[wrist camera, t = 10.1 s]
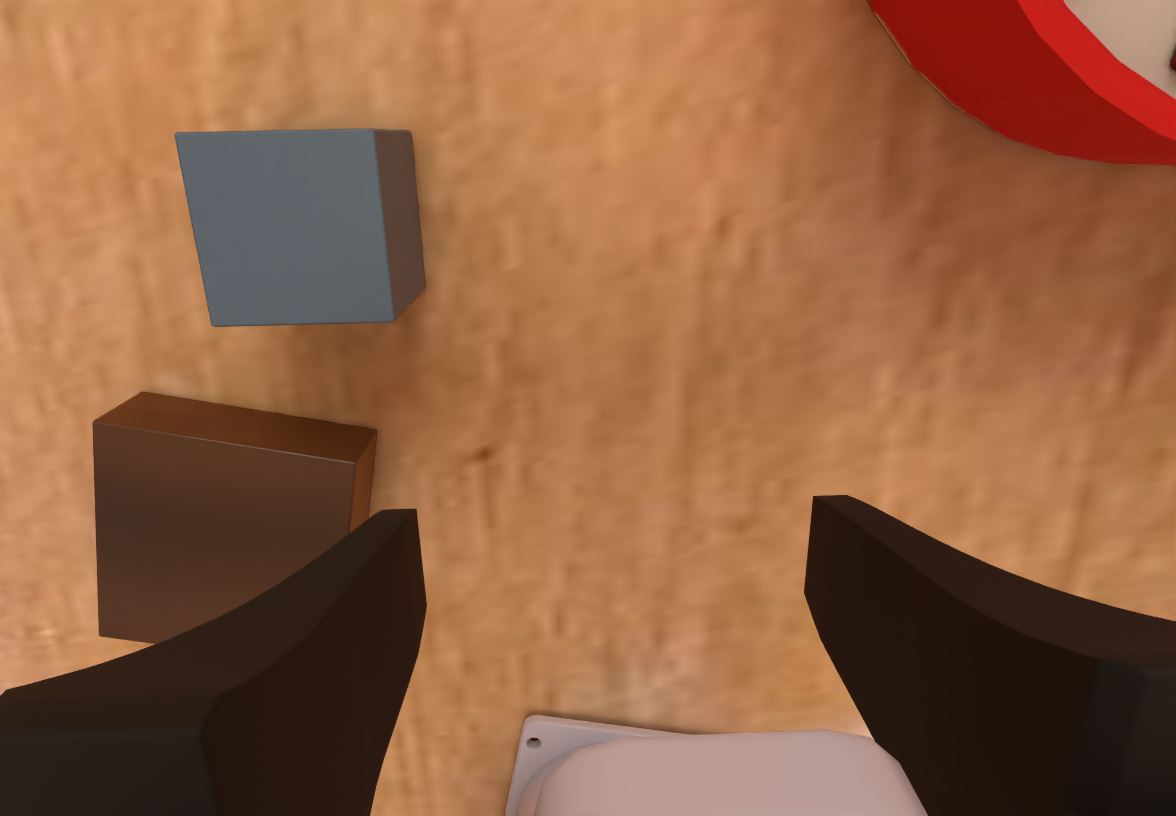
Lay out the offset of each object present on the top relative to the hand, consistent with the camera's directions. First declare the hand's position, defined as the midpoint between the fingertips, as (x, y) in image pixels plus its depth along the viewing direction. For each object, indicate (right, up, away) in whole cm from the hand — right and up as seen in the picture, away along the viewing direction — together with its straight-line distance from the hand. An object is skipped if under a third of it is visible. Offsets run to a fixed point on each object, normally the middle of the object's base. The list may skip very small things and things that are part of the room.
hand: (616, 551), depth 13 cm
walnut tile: (-11, -1, +11) cm, 16 cm away
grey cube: (-8, +8, +8) cm, 14 cm away
